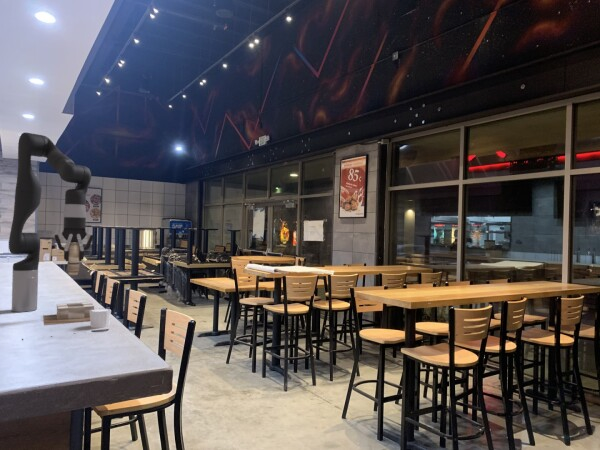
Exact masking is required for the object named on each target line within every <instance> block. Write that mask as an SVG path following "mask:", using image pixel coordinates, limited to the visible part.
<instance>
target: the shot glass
mask: <svg viewBox="0 0 600 450" xmlns="http://www.w3.org/2000/svg"><path fill="white" fill-rule="evenodd" d="M111 313H112V310H111V309H110V308H94V310H90V321H89V322H90V328H92V330H90V332H91V333H103V332H108V331H109V330H110V329H109V328H108V327H109V326H110V324H111V323H110V321H111ZM100 328H101V329H100ZM93 329H95V330H93Z"/></svg>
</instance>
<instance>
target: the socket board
mask: <svg viewBox="0 0 600 450" xmlns="http://www.w3.org/2000/svg"><path fill="white" fill-rule="evenodd" d="M94 309H95V305H93V302H91V301H85V302H71V303H70V302H68V303H57V304H56V314H43V316H42V319H43V325H44V326H53V325H62V324H63V325H65V324H75V323H76V324H77V323H85V322H86V323H87V322H90V310H94Z"/></svg>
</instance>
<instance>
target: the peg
mask: <svg viewBox="0 0 600 450" xmlns="http://www.w3.org/2000/svg"><path fill="white" fill-rule="evenodd" d="M79 260H80V247H79V243H75V242H73V243H70V245H69V248H68V261H67V262H66V263H67V272H68V275H69V276H78V275H79V271H80V264H81V263H80V262H81V261H79Z"/></svg>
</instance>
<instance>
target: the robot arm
mask: <svg viewBox="0 0 600 450" xmlns="http://www.w3.org/2000/svg"><path fill="white" fill-rule="evenodd" d="M17 146H18V147H17V152H18V153H17V174H16V175H17V176H16V185H15V191H14V205H13V214H12V216H13V217H12V222H11V228H10V232H9V237H8V238H9V239H8V250H9V252H10V253H11V254H12V255H27V256H26V257H25V258H24V259H21V260H20V261H17V262H15V263H13V264H12V283H11V284H12V285H11V287H12V289H11V312H16V313H17V312H18V313H19V312H20V313H21V312H25V313H26V312H31V311H32V312H33V311H37V310H38V294H39V293H38V292H39V291H38V290H39V285H38V284H39V264H40V253H41V252H40V251H41V237H40V234H39V233H37V232H23V229H24V226H25V224H26V223H27V221H28V219H29V218H30V217H31V216H32V214H34V213H35V211H36V210H37V209H38V208H39V206H40V204H41V200H42V199H41V198H42V186H41V184H40V181H39V180H38V178H37V175H36V174H35V172H34V170H33V168H32V157H38V158H41V157H42V158H46V159H47V162H48V165H49V166H50V167H51V168H52V169H53V170H54V171H55V172H57V174H58V175H59V176H60V179H62V181H64V182H66V183H70V184H71V183H72V184H76V186H75V188H70V189H67V190H66V191H65V195H64V197H65V198H64V200H65V201H64V209H63V210H64V211H63V230H62V232H61V233H58V234H54V239H55V242H56V244H57V247H58V250H60V251H63V259H64V260H65V262H68V248H69V245H70V243H79V247H80V260H79V261H80V262H82V261H83V260H84V258H85V254H84V252H85V251H87V250H90V247H91V245H92V242H93V239H94V238H95V237H94V235H93V234H89V233H87V230H86V229H87V228H86V225H87V224H86V221H87V209H86V207H87V206H86V198H87V191H88V189H89V186H90V183H91V179H92V172H91V170H90V168H89V167H87V166H86V165H80V164H76V163H75V162H74V161H73V159H71V158H70V157H69V156H68V155H66V154H64V153H63V152H62V151H61V150H60V148H58V146H56V145H55V143H54V142H53V141H52V140H51V139H50V138H49V137H48V136H46V135H43V134H38V133H37V134H36V133H32V132H31V133H30V132H23V133H21V134H20V136H19V139H18V145H17ZM62 237H63V238H64V239H65V240H66V241H65V245H64V246H62V243H61V240H62ZM85 237H86V239H87V242H86V245H85V246H84V244H83V240H84V239H85Z"/></svg>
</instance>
